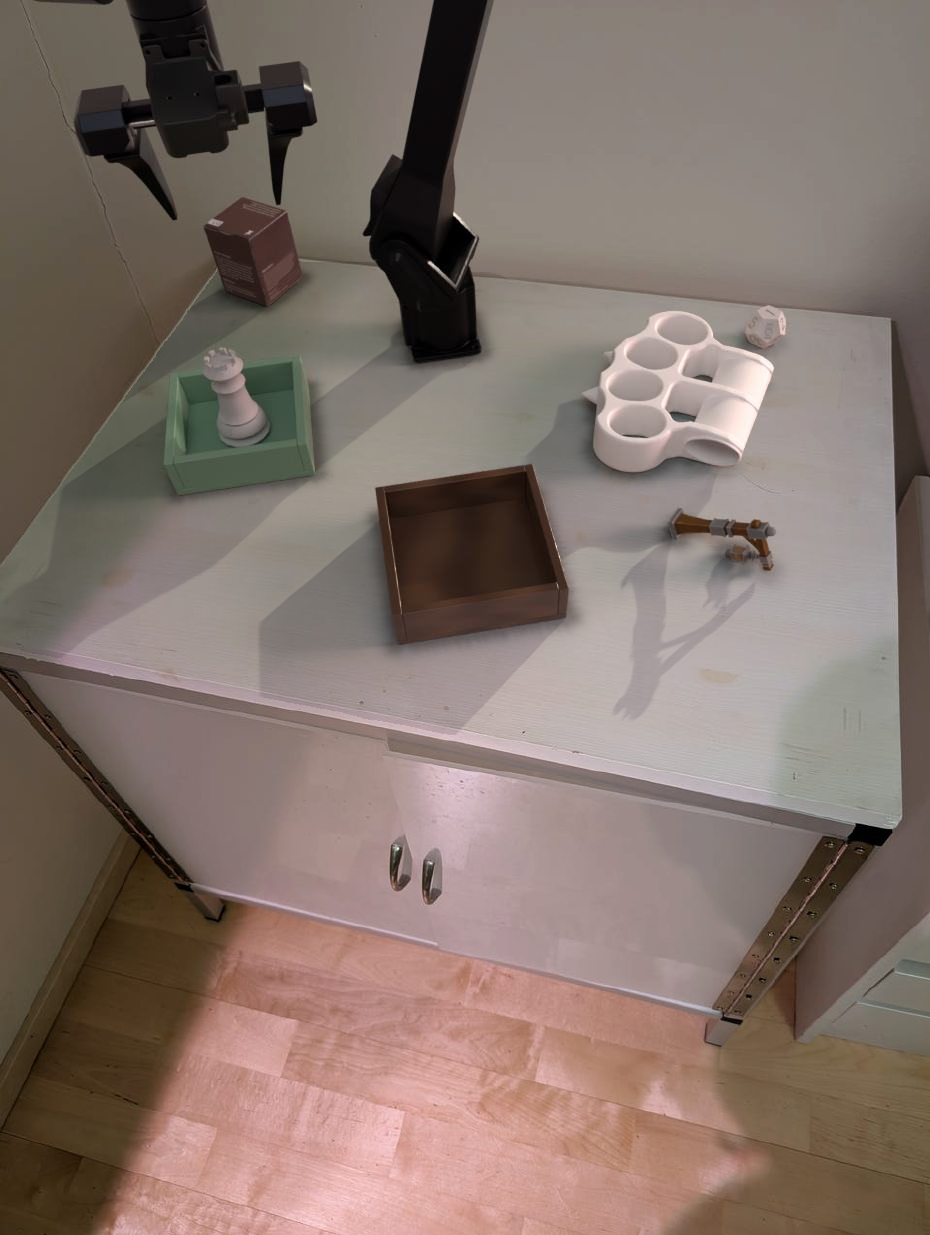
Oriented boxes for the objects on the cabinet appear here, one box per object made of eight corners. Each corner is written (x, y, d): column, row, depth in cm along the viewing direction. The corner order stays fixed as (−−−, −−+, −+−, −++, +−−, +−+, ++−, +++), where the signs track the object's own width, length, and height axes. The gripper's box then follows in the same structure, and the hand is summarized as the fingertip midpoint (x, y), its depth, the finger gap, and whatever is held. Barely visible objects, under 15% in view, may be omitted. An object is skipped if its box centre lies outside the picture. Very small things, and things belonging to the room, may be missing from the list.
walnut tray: (532, 495, 68) (532, 463, 65) (566, 617, 61) (569, 588, 58) (381, 518, 67) (374, 487, 64) (398, 644, 60) (392, 616, 57)
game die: (760, 358, 76) (768, 330, 74) (733, 336, 78) (740, 308, 76) (790, 344, 77) (799, 316, 75) (763, 324, 79) (771, 296, 77)
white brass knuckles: (725, 501, 66) (553, 453, 71) (776, 364, 76) (621, 329, 80) (734, 470, 64) (554, 423, 68) (786, 333, 73) (625, 298, 77)
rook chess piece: (261, 453, 72) (235, 378, 65) (212, 448, 72) (182, 373, 66) (278, 418, 74) (255, 342, 67) (231, 413, 75) (203, 337, 68)
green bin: (308, 386, 77) (300, 354, 74) (315, 475, 71) (306, 443, 68) (182, 405, 77) (169, 373, 74) (177, 495, 70) (162, 464, 67)
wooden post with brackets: (778, 578, 61) (768, 530, 58) (679, 563, 66) (666, 519, 63) (788, 562, 61) (779, 514, 59) (690, 549, 67) (677, 504, 64)
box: (305, 278, 87) (289, 210, 81) (267, 309, 84) (248, 240, 78) (260, 262, 89) (242, 195, 83) (223, 292, 87) (201, 224, 81)
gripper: (27, 68, 57) (117, 277, 69) (301, 32, 58) (339, 244, 71) (44, 6, 63) (123, 208, 76) (290, -26, 64) (327, 178, 77)
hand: (227, 210), depth 75 cm, fingers open, 9 cm apart
